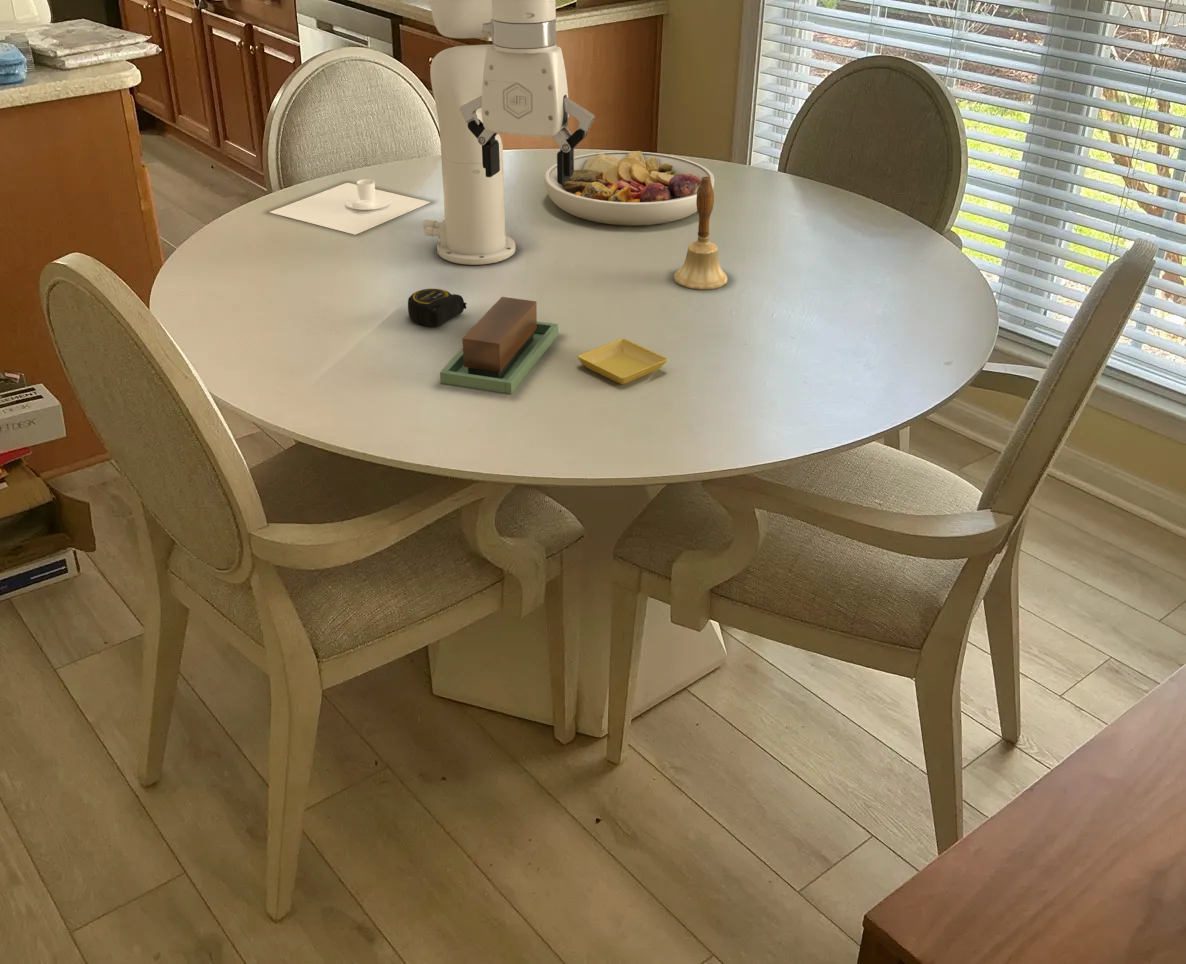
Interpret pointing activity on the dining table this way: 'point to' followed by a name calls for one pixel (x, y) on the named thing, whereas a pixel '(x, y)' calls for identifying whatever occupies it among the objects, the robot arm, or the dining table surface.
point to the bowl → (628, 187)
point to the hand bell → (702, 249)
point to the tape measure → (434, 306)
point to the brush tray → (516, 373)
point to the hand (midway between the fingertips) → (528, 177)
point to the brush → (500, 337)
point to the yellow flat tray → (622, 361)
